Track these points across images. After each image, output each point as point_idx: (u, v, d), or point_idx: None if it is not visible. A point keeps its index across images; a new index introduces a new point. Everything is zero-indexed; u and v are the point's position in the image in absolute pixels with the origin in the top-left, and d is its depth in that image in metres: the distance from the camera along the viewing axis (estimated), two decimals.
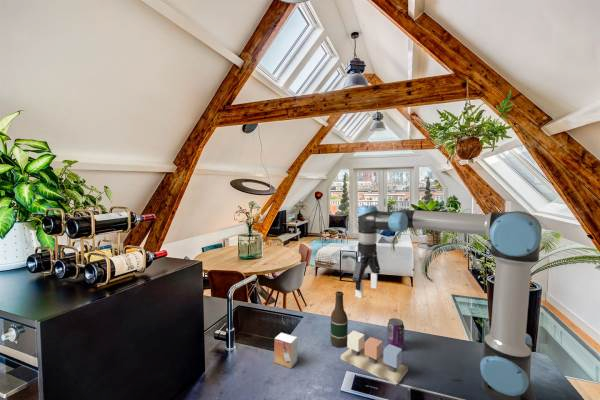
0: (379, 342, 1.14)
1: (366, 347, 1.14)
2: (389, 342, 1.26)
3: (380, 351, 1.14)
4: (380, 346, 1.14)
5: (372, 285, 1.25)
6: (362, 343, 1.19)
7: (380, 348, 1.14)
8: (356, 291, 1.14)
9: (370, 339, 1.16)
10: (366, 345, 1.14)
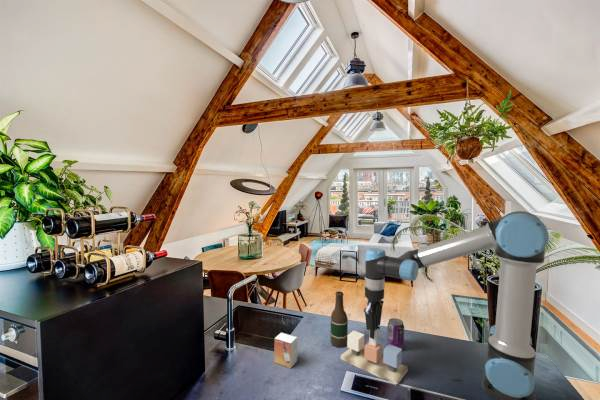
0: (379, 346, 1.14)
1: (366, 351, 1.14)
2: (389, 342, 1.26)
3: (380, 355, 1.14)
4: (380, 350, 1.14)
5: None
6: (362, 343, 1.19)
7: (380, 351, 1.14)
8: (370, 339, 1.15)
9: None
10: (366, 349, 1.14)
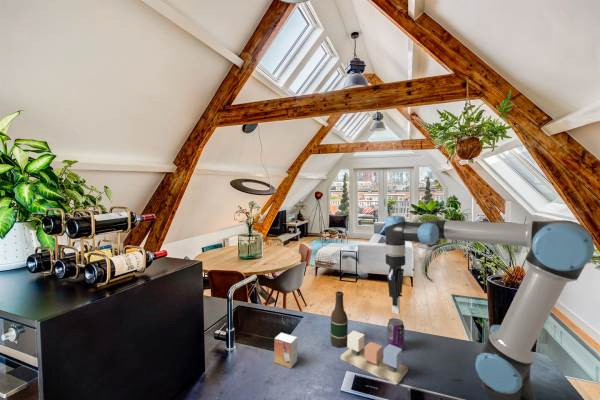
0: (379, 347, 1.14)
1: (366, 352, 1.14)
2: (389, 342, 1.26)
3: (380, 356, 1.14)
4: (380, 351, 1.14)
5: None
6: (362, 343, 1.19)
7: (380, 352, 1.14)
8: (393, 307, 1.14)
9: (370, 343, 1.17)
10: (366, 350, 1.14)
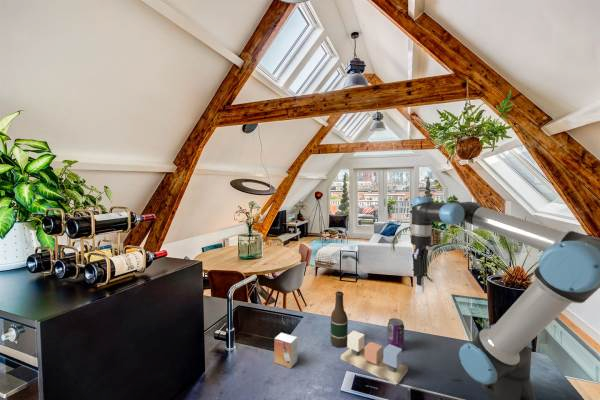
0: (379, 347, 1.14)
1: (366, 352, 1.14)
2: (389, 342, 1.26)
3: (380, 356, 1.14)
4: (380, 351, 1.14)
5: None
6: (362, 343, 1.19)
7: (380, 352, 1.14)
8: (416, 286, 1.16)
9: (370, 343, 1.17)
10: (366, 350, 1.14)
